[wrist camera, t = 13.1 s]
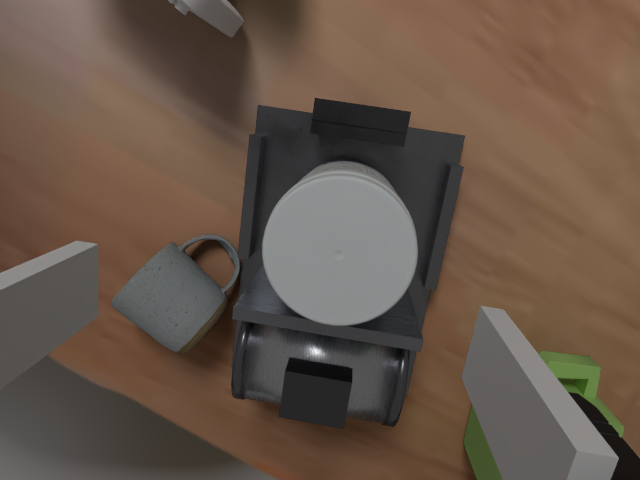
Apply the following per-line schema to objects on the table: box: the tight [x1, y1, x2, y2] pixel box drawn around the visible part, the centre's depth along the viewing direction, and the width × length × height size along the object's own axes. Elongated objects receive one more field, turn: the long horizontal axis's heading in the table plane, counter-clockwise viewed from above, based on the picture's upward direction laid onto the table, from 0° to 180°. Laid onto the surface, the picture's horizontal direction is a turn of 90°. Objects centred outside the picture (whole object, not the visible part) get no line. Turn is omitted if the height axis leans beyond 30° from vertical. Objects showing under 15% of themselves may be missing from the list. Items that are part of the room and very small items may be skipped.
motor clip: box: [231, 98, 465, 429], centre depth 36 cm, size 27×18×12 cm, turn 172°
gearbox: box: [464, 351, 624, 480], centre depth 40 cm, size 18×10×10 cm, turn 174°
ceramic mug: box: [111, 234, 240, 354], centre depth 40 cm, size 11×8×8 cm
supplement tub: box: [262, 159, 418, 326], centre depth 33 cm, size 10×10×15 cm
